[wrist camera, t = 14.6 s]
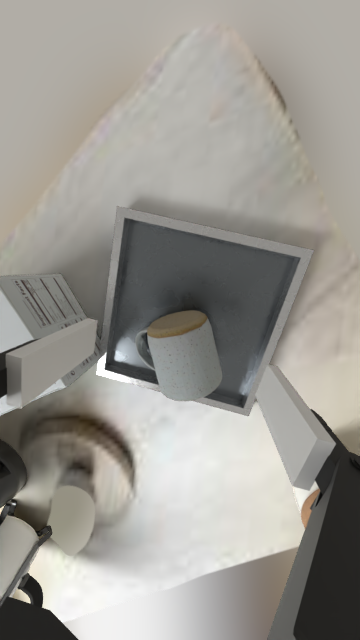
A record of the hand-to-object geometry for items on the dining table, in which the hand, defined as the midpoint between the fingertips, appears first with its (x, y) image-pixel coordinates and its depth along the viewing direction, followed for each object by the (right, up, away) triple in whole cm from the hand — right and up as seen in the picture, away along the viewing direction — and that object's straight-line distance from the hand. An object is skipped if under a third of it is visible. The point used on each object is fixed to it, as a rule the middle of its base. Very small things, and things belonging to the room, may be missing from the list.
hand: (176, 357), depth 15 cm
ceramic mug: (+1, +3, +11) cm, 12 cm away
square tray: (+2, +3, +12) cm, 12 cm away
